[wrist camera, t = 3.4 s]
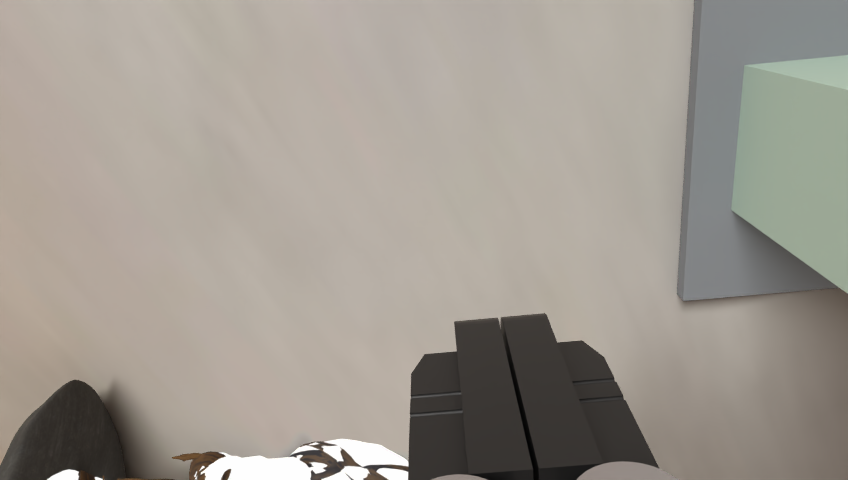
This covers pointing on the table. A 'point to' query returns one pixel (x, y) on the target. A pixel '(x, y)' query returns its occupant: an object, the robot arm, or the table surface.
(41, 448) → the figurine
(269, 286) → the table surface
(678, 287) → the slate mat
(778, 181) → the sage block
